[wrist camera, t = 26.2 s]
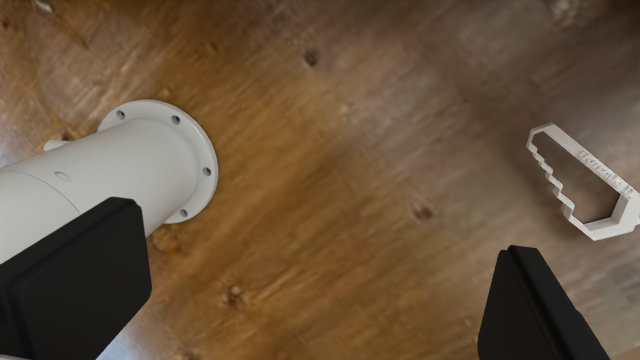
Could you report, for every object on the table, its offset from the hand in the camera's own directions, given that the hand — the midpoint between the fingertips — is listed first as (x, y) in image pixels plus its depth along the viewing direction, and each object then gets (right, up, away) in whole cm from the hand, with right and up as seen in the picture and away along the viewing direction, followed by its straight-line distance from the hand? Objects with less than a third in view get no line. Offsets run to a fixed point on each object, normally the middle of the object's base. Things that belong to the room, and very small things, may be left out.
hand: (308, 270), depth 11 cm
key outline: (+22, +2, +24) cm, 33 cm away
